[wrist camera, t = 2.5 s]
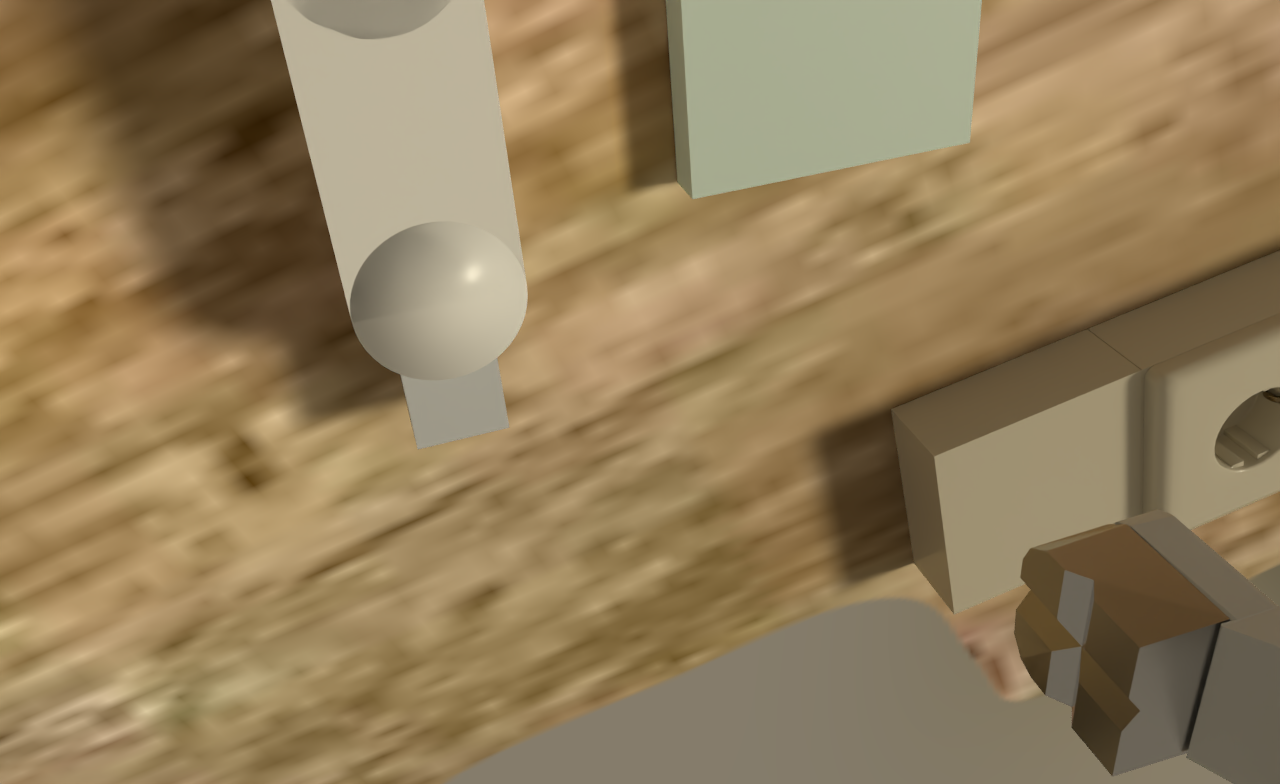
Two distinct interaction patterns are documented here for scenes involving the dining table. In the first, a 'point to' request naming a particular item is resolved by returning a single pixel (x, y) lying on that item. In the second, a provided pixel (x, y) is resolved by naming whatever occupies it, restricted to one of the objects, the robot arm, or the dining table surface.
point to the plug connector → (415, 194)
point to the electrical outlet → (1097, 433)
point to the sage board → (815, 85)
